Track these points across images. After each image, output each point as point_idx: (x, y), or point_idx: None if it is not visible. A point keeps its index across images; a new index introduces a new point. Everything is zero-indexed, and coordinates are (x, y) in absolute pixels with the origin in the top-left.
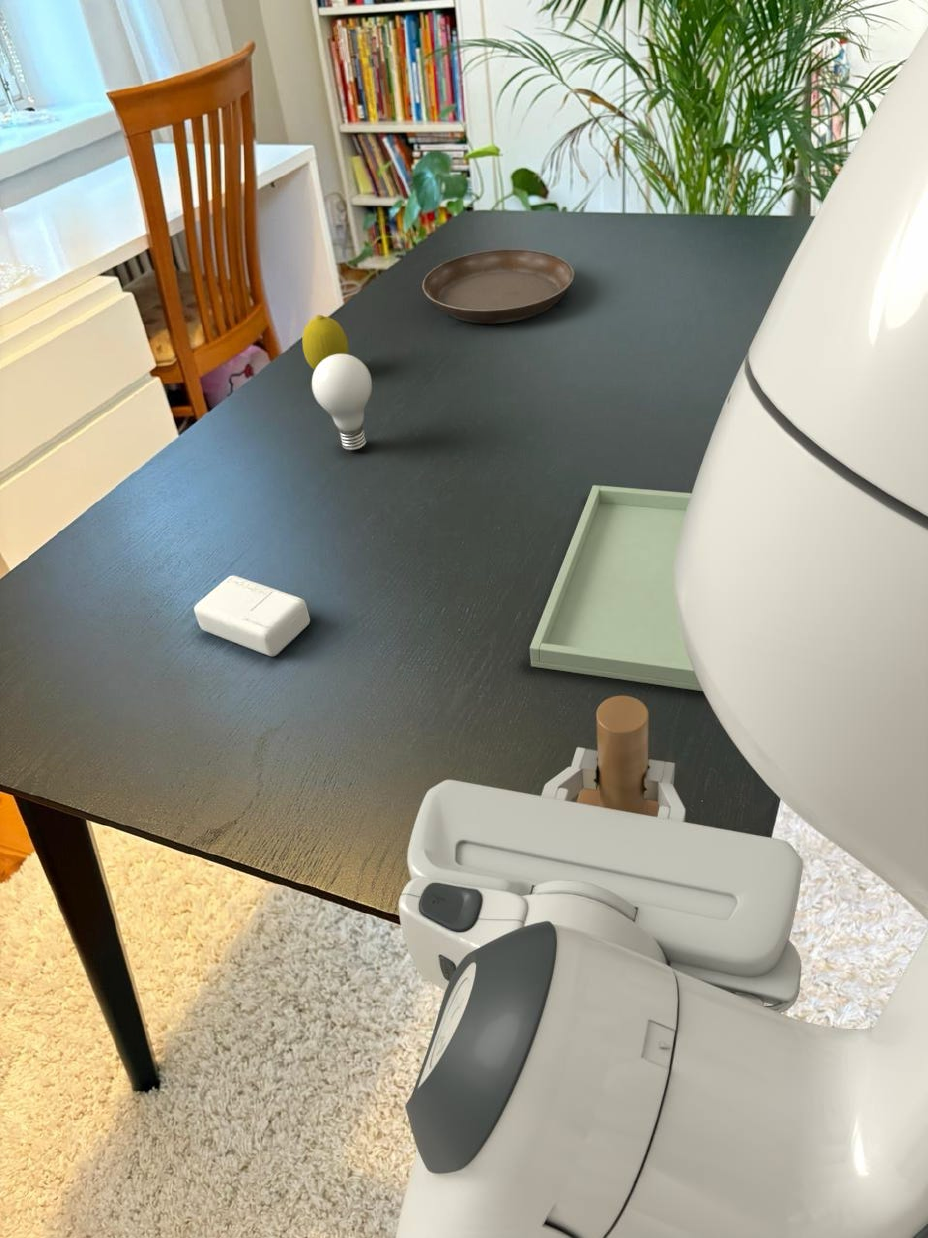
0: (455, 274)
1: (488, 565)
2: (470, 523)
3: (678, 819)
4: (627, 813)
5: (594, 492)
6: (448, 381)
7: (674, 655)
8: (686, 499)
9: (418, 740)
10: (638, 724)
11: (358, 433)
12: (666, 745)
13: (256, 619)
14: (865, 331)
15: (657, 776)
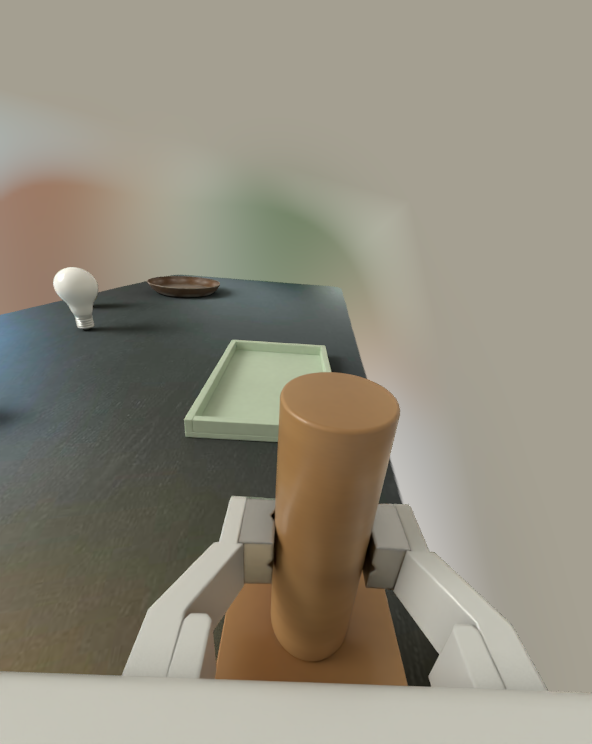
0: (165, 282)
1: (161, 378)
2: (153, 359)
3: (521, 667)
4: (411, 701)
5: (233, 342)
6: (154, 310)
7: None
8: (285, 346)
9: (49, 516)
10: (388, 411)
11: (87, 318)
12: None
13: None
14: None
15: (397, 537)
